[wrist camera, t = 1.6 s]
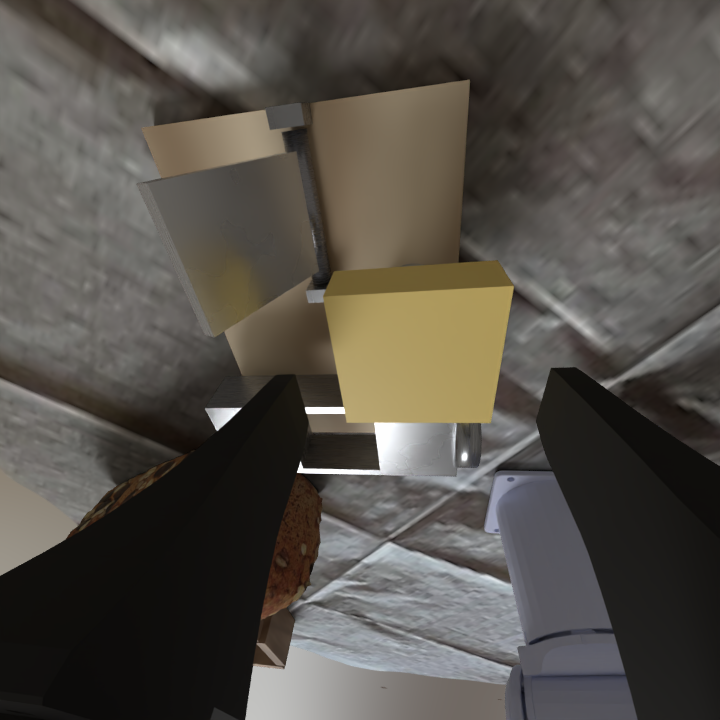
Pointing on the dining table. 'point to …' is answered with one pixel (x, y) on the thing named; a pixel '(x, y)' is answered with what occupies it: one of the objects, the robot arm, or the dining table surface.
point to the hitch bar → (323, 396)
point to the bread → (293, 539)
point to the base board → (343, 205)
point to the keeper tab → (242, 231)
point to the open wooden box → (274, 640)
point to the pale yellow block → (419, 341)
